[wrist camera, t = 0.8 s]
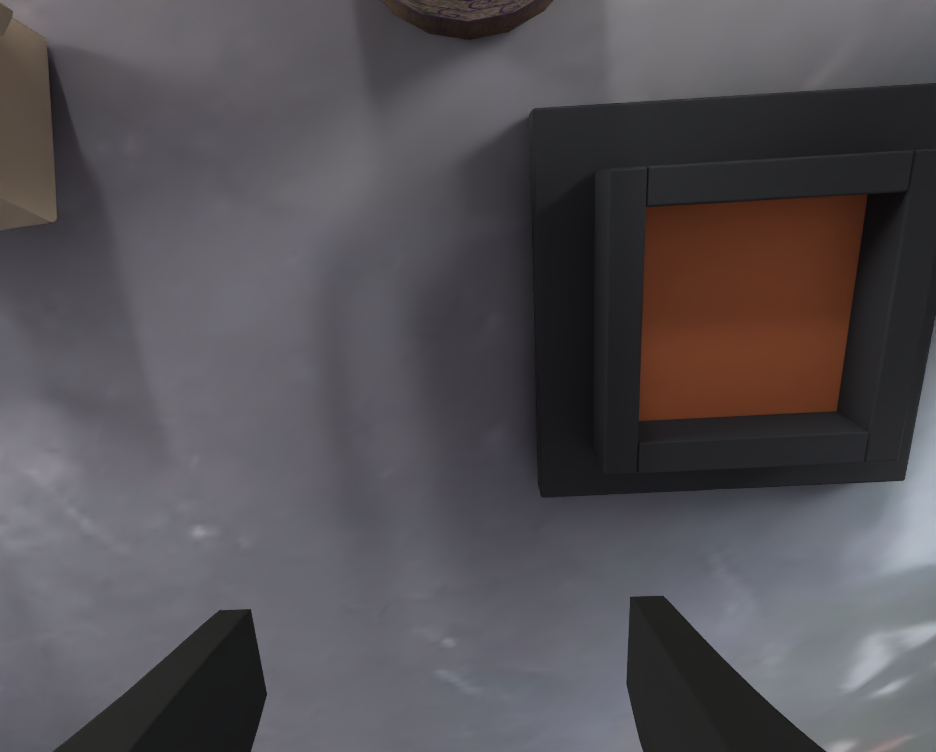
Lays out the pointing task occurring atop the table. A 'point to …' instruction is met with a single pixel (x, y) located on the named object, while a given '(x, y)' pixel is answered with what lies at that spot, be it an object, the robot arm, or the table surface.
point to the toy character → (25, 127)
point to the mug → (466, 15)
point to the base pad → (732, 289)
